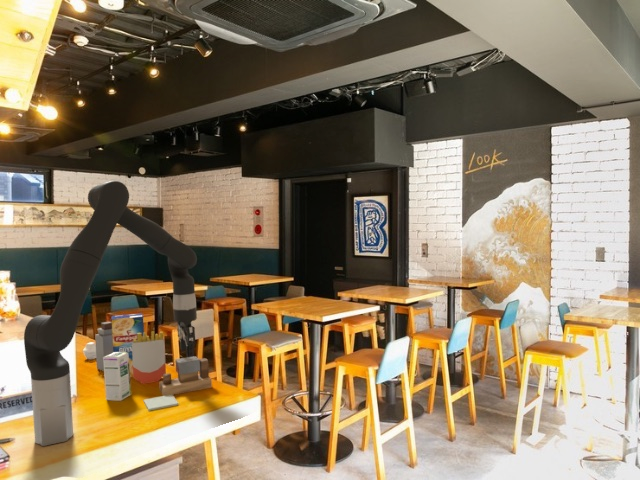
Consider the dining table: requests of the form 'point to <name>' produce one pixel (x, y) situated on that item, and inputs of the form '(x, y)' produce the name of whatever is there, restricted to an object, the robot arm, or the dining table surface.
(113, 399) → the syrup box
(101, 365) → the perfume bottle
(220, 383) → the dining table surface
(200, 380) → the body
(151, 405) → the mat
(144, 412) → the dining table surface
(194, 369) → the lever cap
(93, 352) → the white lumpy round piece
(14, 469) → the dining table surface
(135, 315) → the cereal box
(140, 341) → the french fries container
